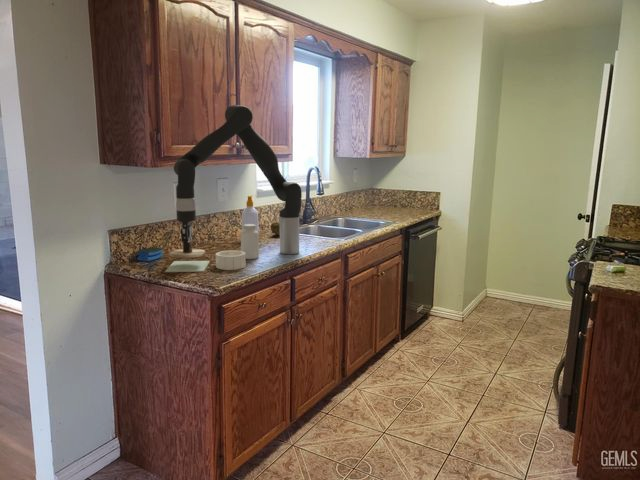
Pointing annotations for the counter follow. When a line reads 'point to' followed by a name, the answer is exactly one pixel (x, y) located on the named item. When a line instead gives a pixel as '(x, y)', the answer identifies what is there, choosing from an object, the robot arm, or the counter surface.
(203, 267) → the mat
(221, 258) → the bowl
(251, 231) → the pill bottle
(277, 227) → the potato
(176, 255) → the lid
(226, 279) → the counter surface
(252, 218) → the soap bottle
